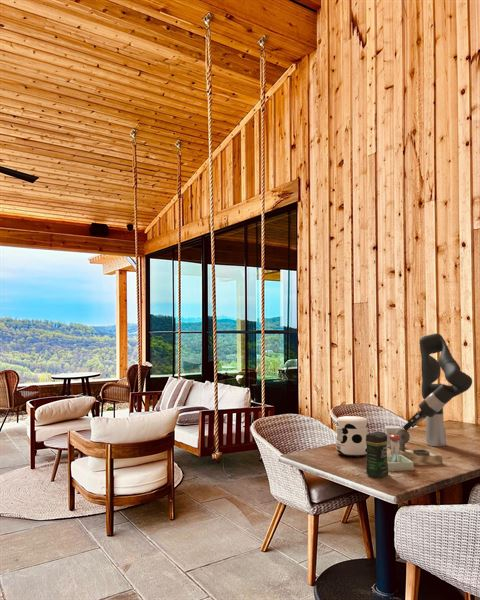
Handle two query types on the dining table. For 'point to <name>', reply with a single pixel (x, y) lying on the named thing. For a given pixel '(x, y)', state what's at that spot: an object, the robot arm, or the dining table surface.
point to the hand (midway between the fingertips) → (408, 427)
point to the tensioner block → (417, 451)
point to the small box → (389, 431)
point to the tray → (400, 464)
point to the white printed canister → (352, 436)
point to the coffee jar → (376, 454)
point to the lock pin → (394, 447)
